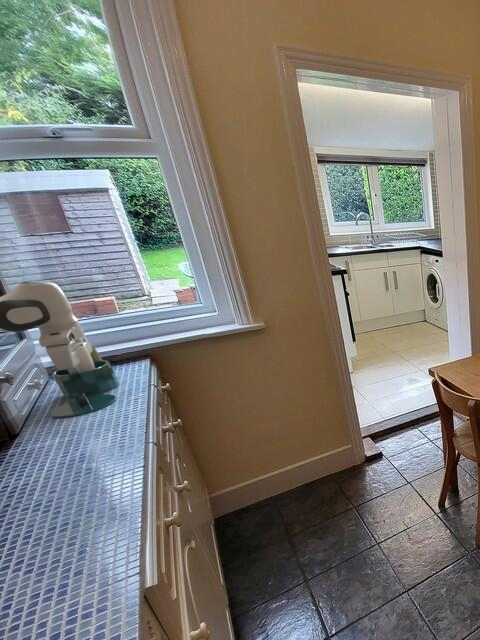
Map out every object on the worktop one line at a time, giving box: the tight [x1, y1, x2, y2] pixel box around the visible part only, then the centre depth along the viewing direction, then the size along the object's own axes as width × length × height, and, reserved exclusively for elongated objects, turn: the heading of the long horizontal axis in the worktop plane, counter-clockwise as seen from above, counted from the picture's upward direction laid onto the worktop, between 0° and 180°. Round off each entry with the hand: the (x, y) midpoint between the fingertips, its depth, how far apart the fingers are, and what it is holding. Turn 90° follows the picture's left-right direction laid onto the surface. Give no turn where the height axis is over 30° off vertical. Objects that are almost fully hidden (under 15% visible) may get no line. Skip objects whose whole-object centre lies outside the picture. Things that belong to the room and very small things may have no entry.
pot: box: [51, 359, 120, 400], centre depth 135 cm, size 13×13×8 cm
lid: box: [50, 393, 117, 419], centre depth 124 cm, size 14×14×5 cm
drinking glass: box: [68, 344, 96, 374], centre depth 133 cm, size 7×7×15 cm
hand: (84, 373), depth 134 cm, fingers open, 7 cm apart
